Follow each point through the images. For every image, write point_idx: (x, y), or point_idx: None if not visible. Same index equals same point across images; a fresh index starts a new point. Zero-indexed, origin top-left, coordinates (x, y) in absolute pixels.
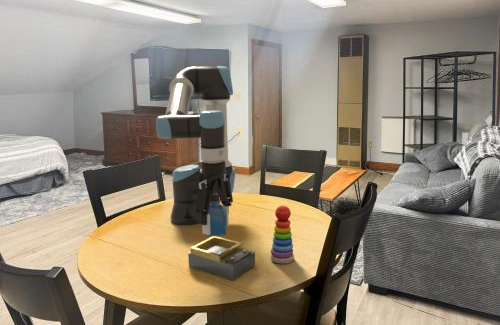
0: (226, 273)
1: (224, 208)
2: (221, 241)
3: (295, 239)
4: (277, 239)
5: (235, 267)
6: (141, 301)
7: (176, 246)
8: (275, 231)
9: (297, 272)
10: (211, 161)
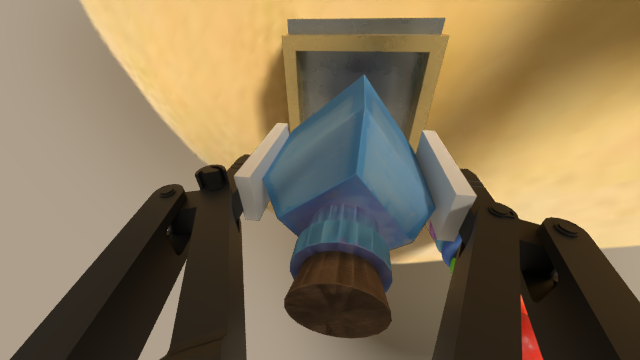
0: None
1: (439, 216)
2: (417, 93)
3: (620, 200)
4: (453, 254)
5: None
6: (114, 52)
7: None
8: None
9: (400, 247)
10: None
